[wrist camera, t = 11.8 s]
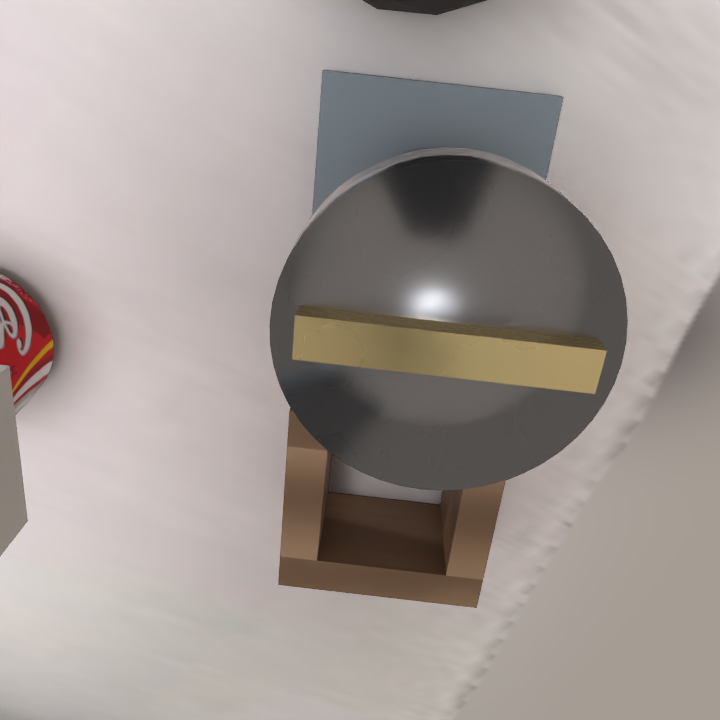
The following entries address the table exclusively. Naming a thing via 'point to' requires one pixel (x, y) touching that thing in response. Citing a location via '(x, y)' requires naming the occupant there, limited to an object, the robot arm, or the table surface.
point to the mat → (425, 124)
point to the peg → (447, 320)
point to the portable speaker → (421, 5)
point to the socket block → (381, 535)
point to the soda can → (23, 342)
